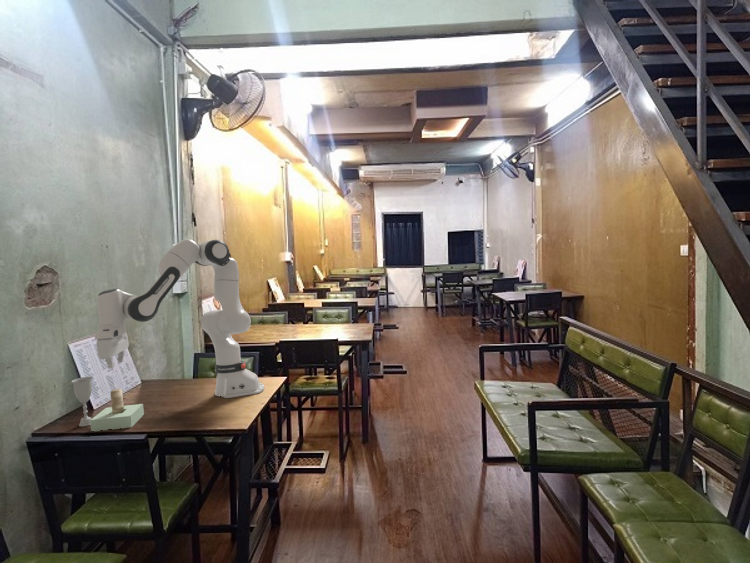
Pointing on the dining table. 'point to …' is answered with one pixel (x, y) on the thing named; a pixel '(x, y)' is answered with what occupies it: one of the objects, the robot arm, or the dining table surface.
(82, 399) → the chalice
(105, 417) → the socket block
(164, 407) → the dining table surface
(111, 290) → the robot arm
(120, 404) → the peg
